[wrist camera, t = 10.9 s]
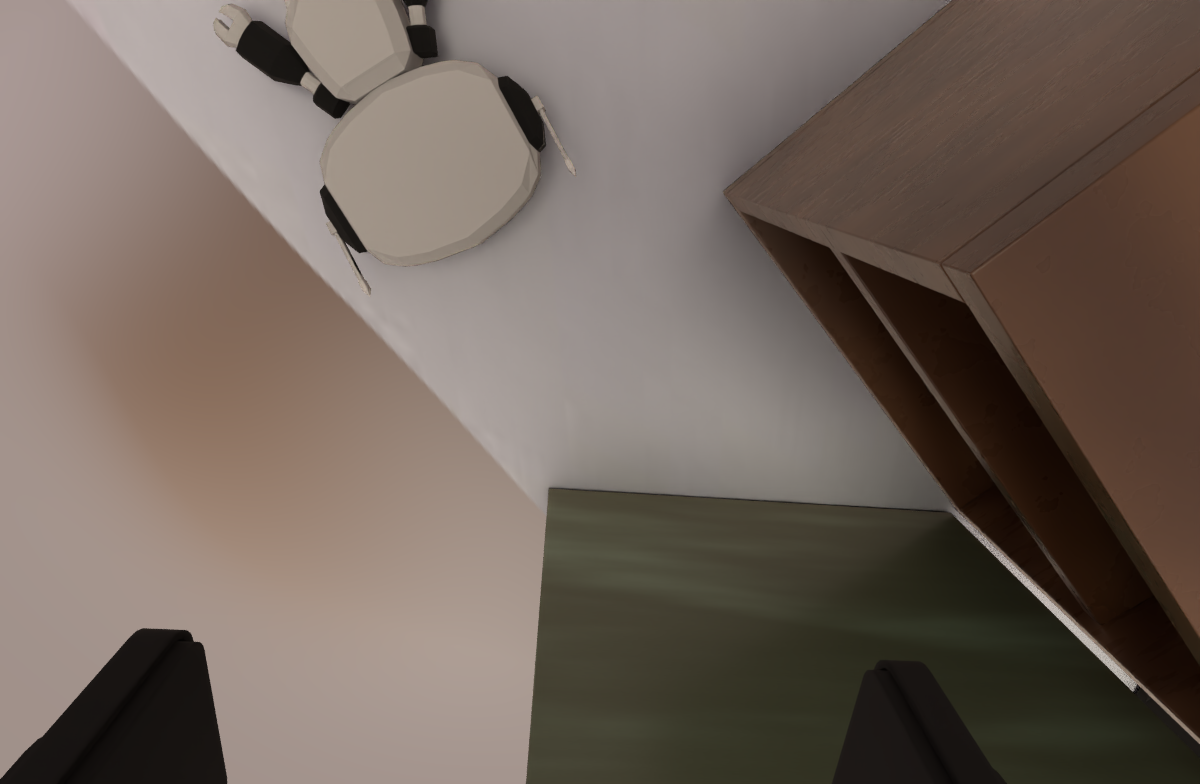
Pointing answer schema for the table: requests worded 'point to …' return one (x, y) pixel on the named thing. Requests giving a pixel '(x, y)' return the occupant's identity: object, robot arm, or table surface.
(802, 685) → the cupboard door
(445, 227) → the robot toy
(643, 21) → the table surface
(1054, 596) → the cupboard
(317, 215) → the table surface
